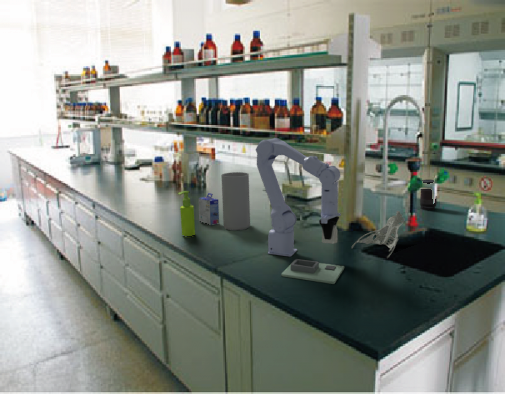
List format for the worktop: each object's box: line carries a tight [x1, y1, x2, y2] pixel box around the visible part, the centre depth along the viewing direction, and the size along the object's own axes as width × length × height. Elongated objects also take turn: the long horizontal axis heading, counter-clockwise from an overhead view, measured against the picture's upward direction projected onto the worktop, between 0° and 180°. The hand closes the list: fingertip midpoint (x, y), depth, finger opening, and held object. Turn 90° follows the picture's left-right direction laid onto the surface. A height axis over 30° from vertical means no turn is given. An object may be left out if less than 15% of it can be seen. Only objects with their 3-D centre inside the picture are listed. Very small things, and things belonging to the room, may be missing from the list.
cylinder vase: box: [220, 171, 251, 231], centre depth 200 cm, size 12×12×25 cm
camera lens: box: [419, 179, 437, 211], centre depth 224 cm, size 8×8×15 cm
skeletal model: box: [351, 210, 405, 259], centre depth 171 cm, size 16×9×25 cm
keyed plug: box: [321, 224, 338, 245], centre depth 156 cm, size 5×3×6 cm, turn 65°
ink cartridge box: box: [198, 192, 220, 226], centre depth 210 cm, size 10×6×14 cm, turn 41°
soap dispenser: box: [177, 190, 196, 237], centre depth 190 cm, size 6×7×20 cm
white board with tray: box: [280, 258, 345, 285], centre depth 147 cm, size 18×14×3 cm
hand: (329, 237), depth 156 cm, fingers closed on keyed plug, 3 cm apart
